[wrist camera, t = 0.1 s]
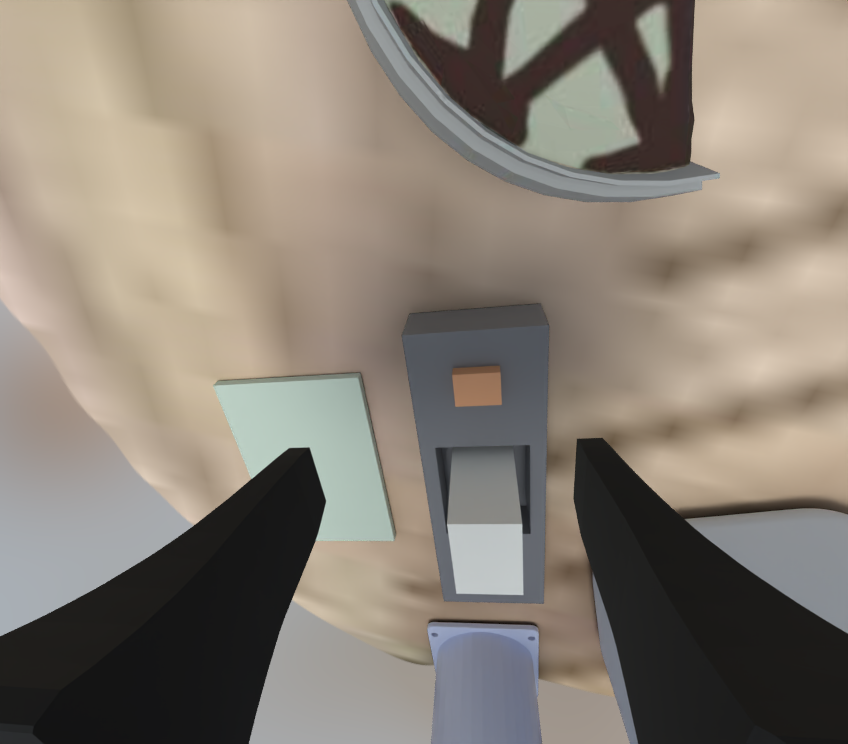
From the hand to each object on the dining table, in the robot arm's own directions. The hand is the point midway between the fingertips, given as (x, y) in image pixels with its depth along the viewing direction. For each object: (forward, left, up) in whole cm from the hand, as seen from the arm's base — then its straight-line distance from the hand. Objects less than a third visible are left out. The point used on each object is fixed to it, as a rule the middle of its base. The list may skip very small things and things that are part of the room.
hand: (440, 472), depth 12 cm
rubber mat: (-8, +9, -10) cm, 16 cm away
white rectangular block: (-8, -1, -9) cm, 13 cm away
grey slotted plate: (-8, -1, -10) cm, 13 cm away
